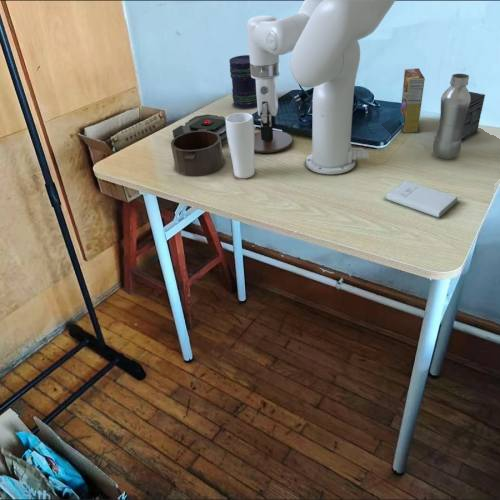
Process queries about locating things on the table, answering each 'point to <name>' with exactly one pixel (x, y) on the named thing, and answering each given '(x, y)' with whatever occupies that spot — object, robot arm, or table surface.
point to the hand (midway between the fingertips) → (268, 133)
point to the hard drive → (422, 198)
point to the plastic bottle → (452, 117)
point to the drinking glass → (241, 143)
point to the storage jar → (243, 83)
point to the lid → (272, 142)
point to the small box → (472, 115)
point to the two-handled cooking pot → (197, 152)
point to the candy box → (412, 99)
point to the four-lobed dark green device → (204, 126)
